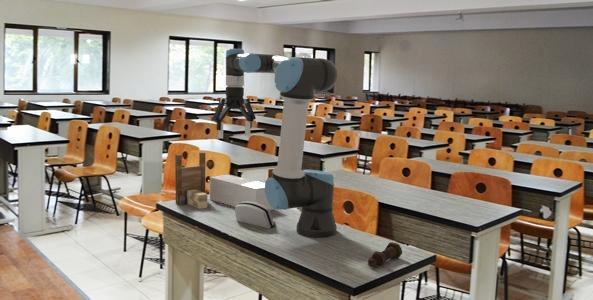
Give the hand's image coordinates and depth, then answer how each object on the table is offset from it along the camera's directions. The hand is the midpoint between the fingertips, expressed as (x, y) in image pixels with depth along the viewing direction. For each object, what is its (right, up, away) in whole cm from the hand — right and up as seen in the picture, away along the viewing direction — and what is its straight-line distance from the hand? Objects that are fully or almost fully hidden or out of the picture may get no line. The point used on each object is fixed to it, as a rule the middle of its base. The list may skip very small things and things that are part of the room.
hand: (234, 137), depth 229 cm
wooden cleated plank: (-21, -29, +16) cm, 39 cm away
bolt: (+54, -42, -55) cm, 88 cm away
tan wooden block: (-18, -30, +11) cm, 37 cm away
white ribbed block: (+1, -30, +15) cm, 34 cm away
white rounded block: (+9, -35, -16) cm, 39 cm away
